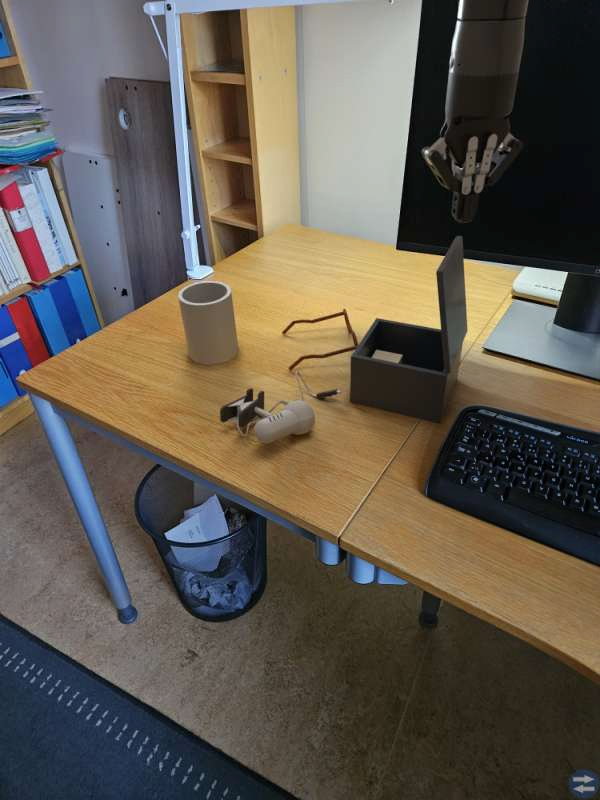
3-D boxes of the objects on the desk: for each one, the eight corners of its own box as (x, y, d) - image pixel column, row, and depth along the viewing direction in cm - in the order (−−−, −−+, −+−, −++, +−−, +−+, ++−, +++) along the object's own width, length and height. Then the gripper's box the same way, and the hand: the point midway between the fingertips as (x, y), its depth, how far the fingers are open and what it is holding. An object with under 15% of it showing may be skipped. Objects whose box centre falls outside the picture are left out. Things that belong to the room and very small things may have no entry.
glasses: (362, 364, 98) (362, 339, 95) (288, 371, 97) (287, 347, 94) (347, 327, 109) (348, 304, 106) (281, 333, 108) (279, 310, 105)
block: (400, 377, 93) (402, 354, 91) (393, 392, 90) (395, 369, 88) (375, 371, 95) (376, 349, 92) (366, 386, 92) (367, 363, 89)
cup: (246, 354, 102) (239, 295, 95) (200, 370, 99) (190, 310, 91) (225, 333, 109) (217, 276, 101) (181, 347, 105) (170, 289, 98)
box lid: (435, 271, 71) (442, 271, 71) (456, 236, 80) (462, 235, 80) (444, 373, 79) (450, 373, 79) (462, 330, 88) (467, 330, 88)
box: (349, 402, 90) (350, 356, 85) (374, 361, 99) (376, 317, 94) (440, 423, 85) (447, 376, 80) (457, 378, 94) (464, 333, 89)
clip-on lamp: (297, 396, 96) (215, 428, 84) (299, 362, 94) (214, 389, 82) (350, 419, 89) (268, 457, 77) (354, 383, 87) (269, 416, 74)
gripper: (446, 76, 58) (429, 238, 68) (556, 66, 61) (524, 223, 71) (414, 68, 64) (403, 218, 74) (516, 59, 66) (492, 205, 77)
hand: (462, 220), depth 73 cm, fingers closed
